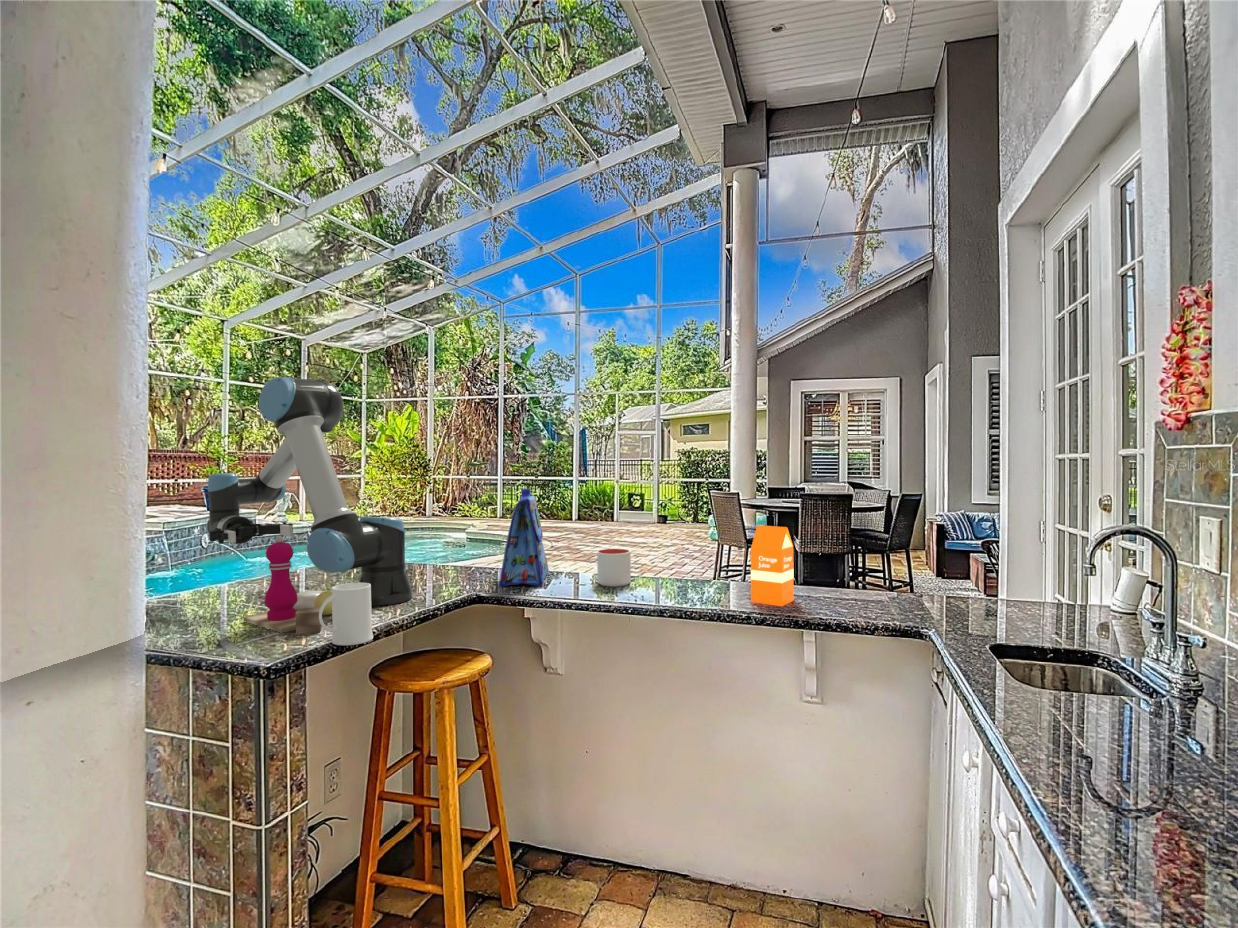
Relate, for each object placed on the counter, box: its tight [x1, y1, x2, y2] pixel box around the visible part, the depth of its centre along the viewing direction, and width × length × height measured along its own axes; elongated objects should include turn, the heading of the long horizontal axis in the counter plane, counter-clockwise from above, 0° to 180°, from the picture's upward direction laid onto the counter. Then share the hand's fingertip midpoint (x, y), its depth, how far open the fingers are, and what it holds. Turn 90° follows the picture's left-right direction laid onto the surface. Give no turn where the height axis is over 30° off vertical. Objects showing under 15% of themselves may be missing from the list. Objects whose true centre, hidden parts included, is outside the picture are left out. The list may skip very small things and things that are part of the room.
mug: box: [319, 581, 374, 646], centre depth 149 cm, size 12×8×12 cm
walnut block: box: [295, 607, 322, 636], centre depth 158 cm, size 5×5×5 cm
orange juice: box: [750, 524, 795, 607], centre depth 181 cm, size 8×9×20 cm
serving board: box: [242, 611, 296, 634], centre depth 166 cm, size 18×10×1 cm, turn 54°
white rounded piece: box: [293, 590, 325, 609], centre depth 183 cm, size 8×8×4 cm
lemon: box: [314, 590, 332, 616], centre depth 173 cm, size 6×6×6 cm
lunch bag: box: [499, 487, 550, 587], centre depth 214 cm, size 22×14×29 cm, turn 1°
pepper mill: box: [264, 535, 298, 621], centre depth 166 cm, size 7×7×20 cm
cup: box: [596, 548, 632, 588], centre depth 206 cm, size 10×10×10 cm
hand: (263, 534), depth 175 cm, fingers open, 13 cm apart
